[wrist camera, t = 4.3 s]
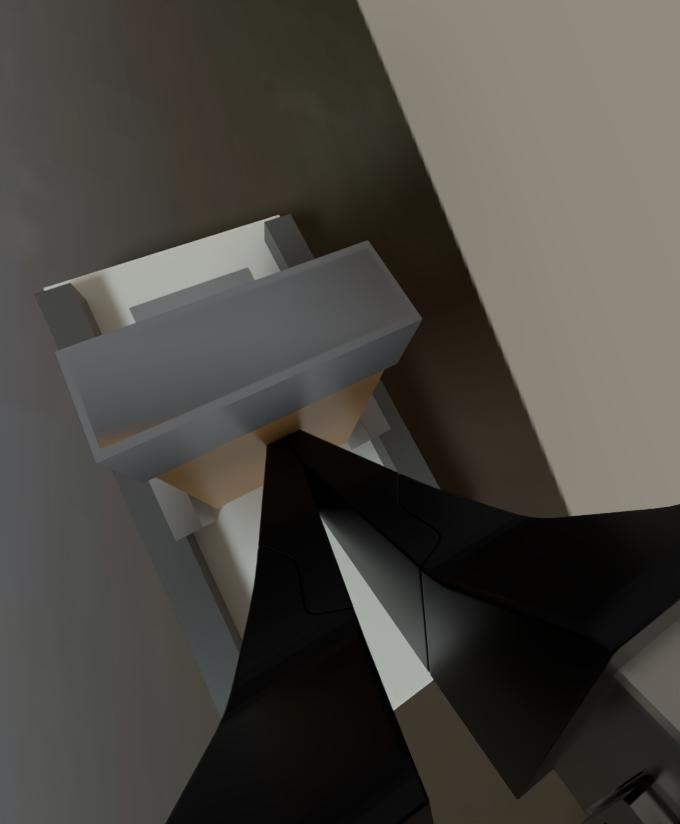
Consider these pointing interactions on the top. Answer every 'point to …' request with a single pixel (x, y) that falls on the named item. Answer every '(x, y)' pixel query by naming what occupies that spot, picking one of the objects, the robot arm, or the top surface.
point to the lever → (241, 373)
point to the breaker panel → (240, 519)
